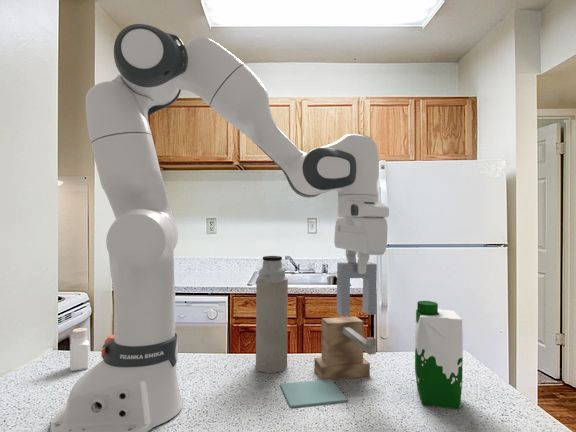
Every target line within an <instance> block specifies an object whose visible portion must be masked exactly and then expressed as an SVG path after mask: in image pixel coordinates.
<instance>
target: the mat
mask: <svg viewBox="0 0 576 432" xmlns="http://www.w3.org/2000/svg"><path fill="white" fill-rule="evenodd" d="M279 386H280V389H281V390H282V392H283V394H284V397H285V399H286V401H287V404H288V406H289V408H292V409H293V408H302V407H311V406H319V405H320V406H321V405H327V404H336V403H346V402H348V399H347V397H346V396H345V394H343V392H342V391H341V390H340V389H339V387H338V386H337V384H336V383H335V382H334V381H333V380H331V379H325V380H321V379H317V380H314V379H313V380H306V381H297V382H296V381H295V382H288V383H287V382H286V383H285V382H284V383H280V384H279Z"/></svg>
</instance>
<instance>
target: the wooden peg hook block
mask: <svg viewBox="0 0 576 432" xmlns="http://www.w3.org/2000/svg"><path fill="white" fill-rule="evenodd" d="M376 343H377V339H376V338H375V337H373V336H370V337H365V336H364V321H363V320H362V319H360V318H359V317H357V316H339V317H326V318H325V317H324V318H323V317H322V318H321V357H314V358H313V359H314V361H313V362H314V365H313V366H314V368H313V370H314V372H315V373H316V374H317V376H318V377H319V380H325V379H331V380H332V379H333V380H341V379H342V380H343V379H353V377H354V378H363V377H370V376H371V375H370V374H371V369H370V368H371V367H370V366H371V364H370V362H369V361H367V359H365V358H364V352H365V353H366V354H367V355H376V352H377V350H376V348H377V346H376V345H377V344H376ZM333 380H332V381H333Z"/></svg>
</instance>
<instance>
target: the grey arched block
mask: <svg viewBox="0 0 576 432" xmlns="http://www.w3.org/2000/svg"><path fill="white" fill-rule="evenodd" d="M357 264H358V262H356V263H348V262H337V264H336V265H337V267H336V268H337V273H336V313H337V314H339V315H340V317H350V307H351V305H350V304H351V303H350V302H351V301H350V300H351V299H350V298H351V294H350V293H351V279H362V312H363V313H364V314H366V315H369V316H370V315H377V282H378V281H377V278H378V277H377V275H378V273H377V272H378V270H377V269H378V268H377V267H378V264H377V263H373V262H368V263H367V265H366V273H365V274H359V273H357V272H356V265H357Z"/></svg>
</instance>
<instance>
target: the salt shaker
mask: <svg viewBox="0 0 576 432" xmlns="http://www.w3.org/2000/svg"><path fill="white" fill-rule="evenodd" d="M71 333H72V335H71V336H72V342H71V343H70V345H69V347H70V350H69V351H70V352H69V353H70V354H69V355H70V357H69V359H70V360H69V361H70V362H69V371H71V372H74V371H81V370H87V369H89V366H90V362H89V361H90V341H89V340H88V328H87V327H78V328H74V329H73V330H72V332H71Z"/></svg>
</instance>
